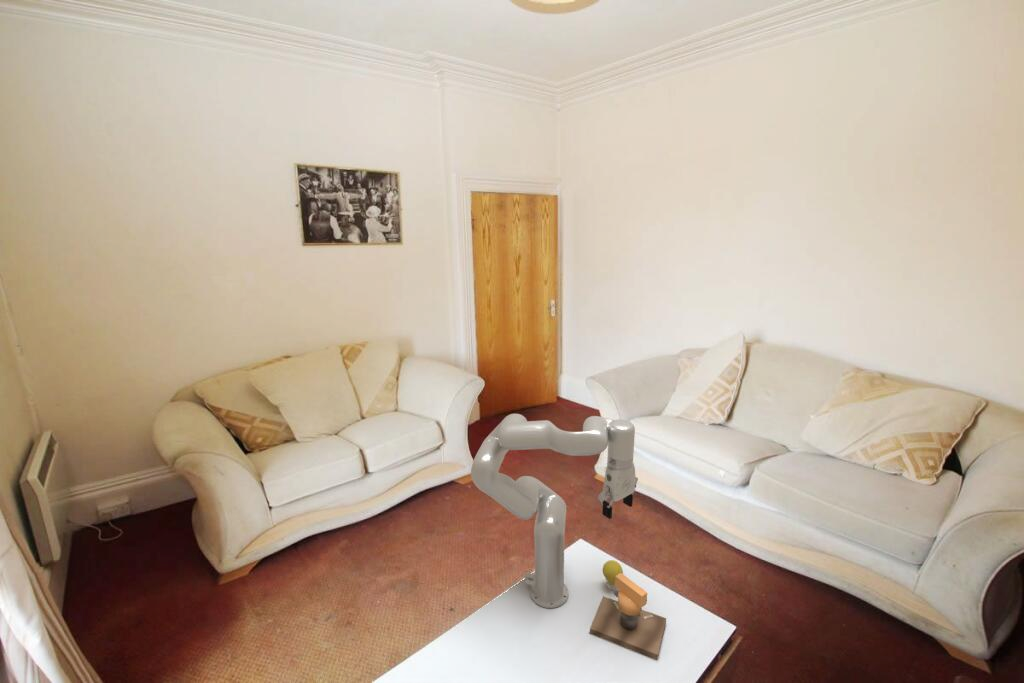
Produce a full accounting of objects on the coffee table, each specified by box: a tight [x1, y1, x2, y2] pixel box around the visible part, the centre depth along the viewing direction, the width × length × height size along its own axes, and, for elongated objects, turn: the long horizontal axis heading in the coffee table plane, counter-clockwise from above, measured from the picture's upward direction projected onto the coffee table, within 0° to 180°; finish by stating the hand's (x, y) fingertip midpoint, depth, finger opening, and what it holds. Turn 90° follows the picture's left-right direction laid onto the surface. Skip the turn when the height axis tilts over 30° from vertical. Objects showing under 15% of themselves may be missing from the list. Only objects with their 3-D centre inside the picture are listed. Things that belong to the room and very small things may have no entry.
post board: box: [589, 595, 667, 661], centre depth 143 cm, size 20×14×8 cm
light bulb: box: [602, 559, 624, 591], centre depth 159 cm, size 7×7×10 cm
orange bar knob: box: [614, 573, 648, 616], centre depth 141 cm, size 11×7×8 cm, turn 36°
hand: (617, 510), depth 145 cm, fingers open, 9 cm apart
